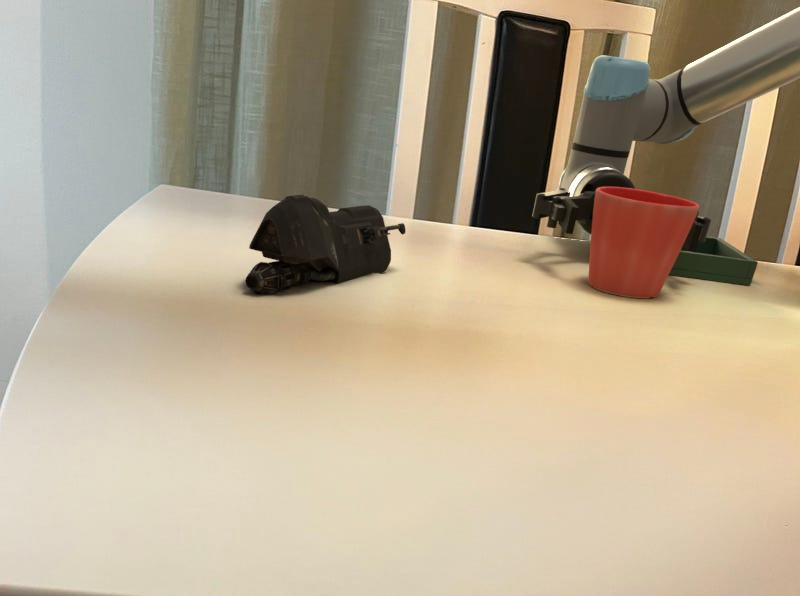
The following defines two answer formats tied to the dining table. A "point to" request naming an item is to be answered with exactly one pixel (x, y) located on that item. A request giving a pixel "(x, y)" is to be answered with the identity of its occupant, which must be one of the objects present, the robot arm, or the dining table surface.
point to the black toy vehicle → (318, 244)
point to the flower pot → (636, 239)
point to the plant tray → (715, 263)
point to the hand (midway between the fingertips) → (634, 229)
